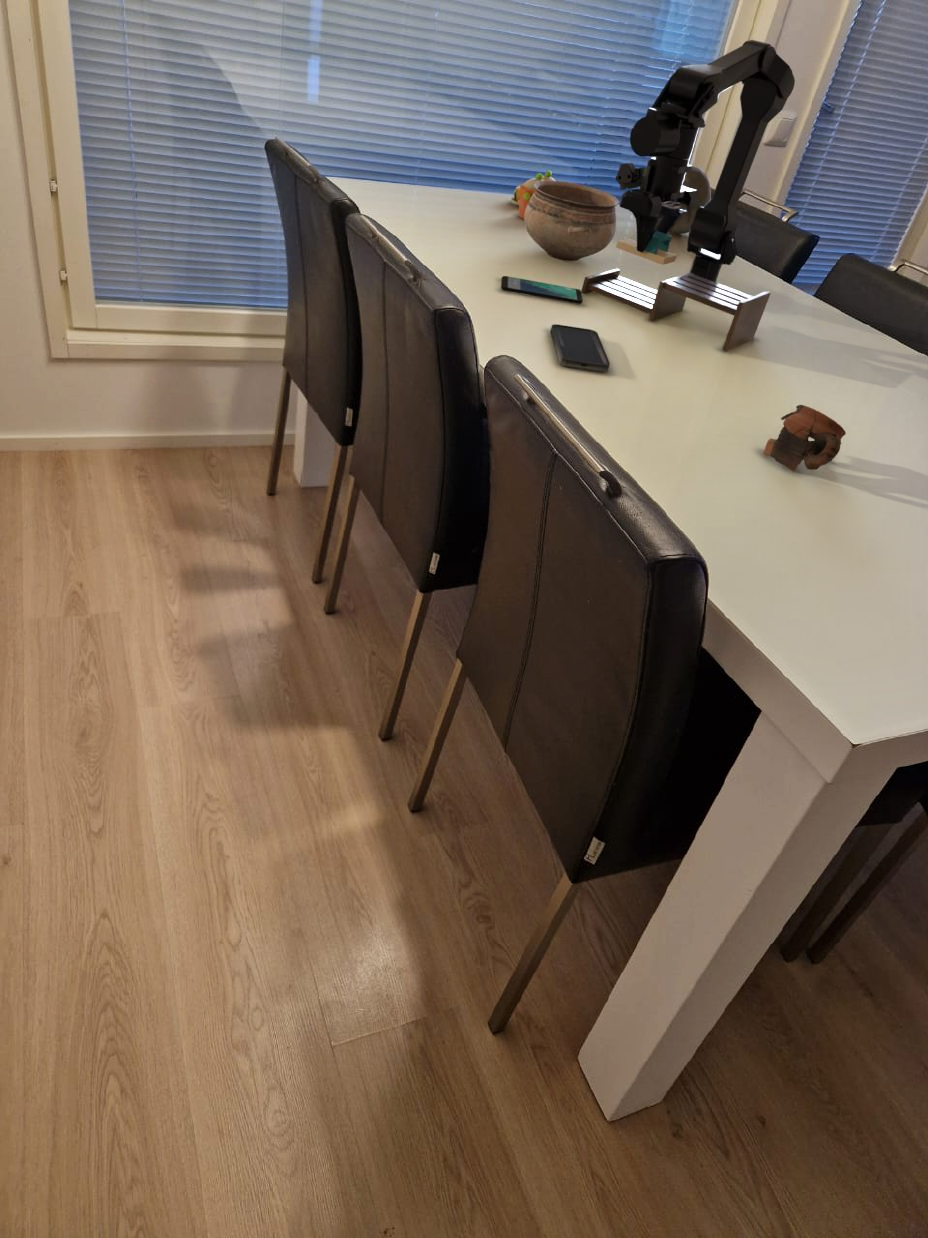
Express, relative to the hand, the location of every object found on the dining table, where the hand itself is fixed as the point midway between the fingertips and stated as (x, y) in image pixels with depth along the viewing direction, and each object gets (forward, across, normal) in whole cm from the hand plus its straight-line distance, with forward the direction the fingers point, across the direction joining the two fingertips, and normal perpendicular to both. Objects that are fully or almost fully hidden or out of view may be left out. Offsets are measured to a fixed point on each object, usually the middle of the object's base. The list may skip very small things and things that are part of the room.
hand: (646, 249), depth 158 cm
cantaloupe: (+10, -60, -24) cm, 65 cm away
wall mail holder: (+1, 0, 0) cm, 1 cm away
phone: (+10, +32, +8) cm, 34 cm away
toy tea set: (+10, -36, -47) cm, 60 cm away
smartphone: (+10, +14, -12) cm, 21 cm away
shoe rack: (+10, 0, +7) cm, 12 cm away
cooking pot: (+10, -11, -24) cm, 28 cm away
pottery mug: (+10, +36, +48) cm, 61 cm away
